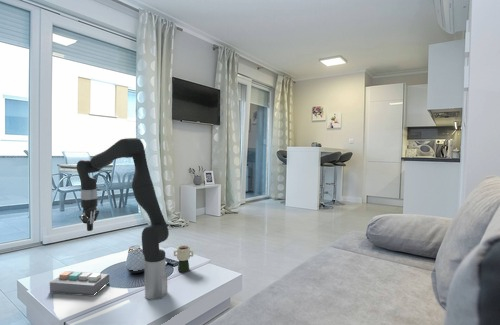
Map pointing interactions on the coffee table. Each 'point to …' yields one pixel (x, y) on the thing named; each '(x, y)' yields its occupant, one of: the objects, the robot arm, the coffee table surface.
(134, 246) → the soda can
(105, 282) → the keypad board
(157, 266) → the robot arm
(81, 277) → the grey key
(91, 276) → the block
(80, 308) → the coffee table surface
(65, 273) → the terracotta key
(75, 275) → the teal key
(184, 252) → the character mug
